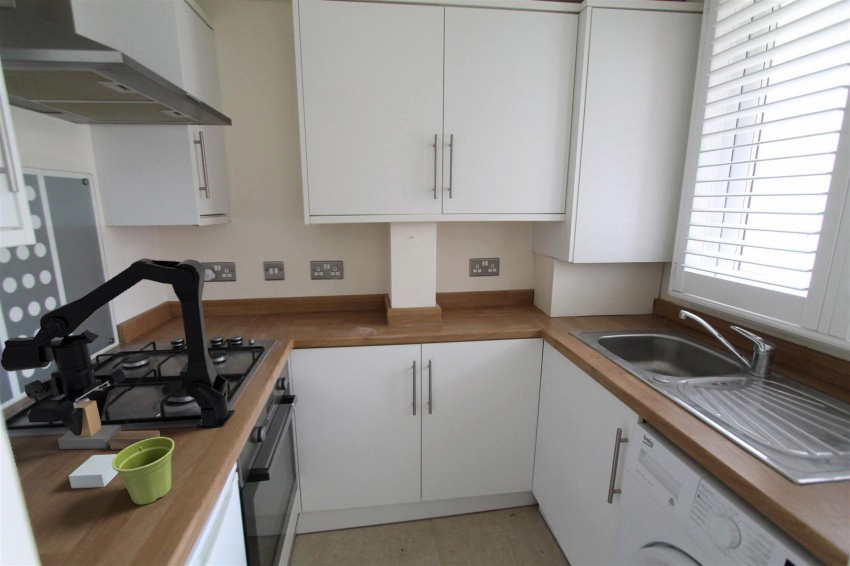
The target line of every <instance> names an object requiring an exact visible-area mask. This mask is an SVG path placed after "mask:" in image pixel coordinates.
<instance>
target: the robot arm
mask: <svg viewBox="0 0 850 566" xmlns="http://www.w3.org/2000/svg"><path fill="white" fill-rule="evenodd" d="M205 277H206V269H205V267H204V265H203V264H202V263H201V262H200V261H199V260H198V261H197V260H196V259H190V258H189V259H185V260H182V261H178V260H177V261H176V260H165V259H161V260H158V259H150V258H146V257H144V258H141V259H138V260H136V261H134V262H132V263H131V264H130V266H129V267H126V268H125V269H124V270H122V271H120V272H119V273H118V274H116V275H115V276H113V277H112V278H110V279H108V280H106V281H105V282H104V283H102V284H101V285H100V286H97V287H96V288H95V289H93V290H91V291H89V293H87V294H85V295H83V296H81V297H79V298H76V299H74V300H72V301H69V302H67V303H64V304H62V305H61V306H59V307H57V308H54V309H53V310H51V311H49V312H47V313H45V314H43V316H41V317H40V319H39V326H40V328H39V330H38V331H37V333H35V336H25V337H17V336H16V337H10V338H8V339H6V340H5V341H4V342H3V343H4V348H3V350H2V352H1V353H2V354H1V359H0V364H1V367H2V368H3V369H4V371H6V372H18V371H19V372H20V371H27V370H35V369H42V368H43V369H44V368H47V367H48V366H49V365H50V364H51V363H52V362H53V361H54V364H55V368H56V370H54V371H53V372H51V374H50V376H49V377H47V378H45V379H43V380H40V379H36V380H34V381H31V382H29V383H26V384H25V385H24V391H25V395H26V396H27V397H28V399H35V398H37V399H38V400H40V399H43V398H44V397H47V396H49V395H52V394H53V397H60V396H63V397H61V398H59V399H45V400H43V401H41V402H40V403H38V404H36V405H35V406H33V407H31V408H30V409H28V411H27V413H26V414H27V415H26V416H27V418H28V422H29V423H56V422H61V423H63V424H64V425H65V426H66V428H67V429H68V430H69V431H71V432H72V433H73V434H74V435H75V436H80V435H81V433H82V426H83V408H77V406H76V404H77V401H79V400H80V399H82V398H84V397H86V398H87V399H88V401H96V404H97V408H98V413H99V417H100V422H101V421H102V420H103V417H104V415H105V412H106V411H107V408H108V407H107V406H108V405H109V402H110V400H111V398H112V396H113V394H114V391H115V390H116V389H117V385H119V384H120V383H121V382H124V380H126V375H125V371H123V370H122V369H120V368H100V369H99V370H97V371H95V369H97V368H98V367H99V365H98V364H99V363H98V362H93V360H92V357H91V352H90V347H89V344H93V342H95V341H96V340H97V339H99V337H100V335H99V334H97V333H95V332H92V331H90V330H88V329H86V330H84V331H82V332H81V333H80V334H73V333H74V332H76V331H77V330H79V329H80V328H81V327H83V326H84V325H85V324H87V323H88V322H89V321H90V320H91V319H92V318H93V317H94V316H95V314H97V312H99V311H100V309H101V308H103V307H104V306H105V305H106V304H109V302H111V301H113V300H114V299H116V298H117V297H119V296H120V295H122V294H124V292H126V291H127V290H129V289H131V288H132V287H135V285H137V284H139V283H140V282H142V281H143V280H145V281H146V280H147V281H152V282H155V283H160V284H163V285H164V284H165V285H171V286H172V289H173V292H174V294H175V296H176V298H177V299H178V301H179V303H180V307H181V315H182V321H183V323H182V324H183V328H184V329H183V330H184V331H183V333H184V338H185V347H186V352H187V362H185V363H184V364H183V366H182V368H181V369H180V371H179V376H180V380H181V384H182V385H181V387H180V390H184V393H185V395H186V396H188V397H190V398H192V399H193V400H194V401H195V403H196V404H197V406H198V407H199V408H200V416H201V419H202V421H200V420H199V421H200V422H199V421H198V422H197V423H196V427H199V428H201V427H202V428H204V427H206V428H207V427H210V428H211V427H223V426H225V425H226V424H227V422H228V421H229V420H230V419H231V418H232V416H233V415H234V414H235V411H236V410H235V409H229V404H228V403H229V402H228V396H227V390H226V387H227V384H228V379H227V378H225V377H224V376H221V374H218V373H217V370H216V367H215V364H214V362H213V359H212V358H211V356H210V355H209V350H208V343H207V342H208V341H207V332H206V326H205V323H206V322H205V317H204V316H205V314H204V307H203V294H204V293H203V291H204V286H205ZM56 338H57V339H58V338H59V339H58V340H57V339H56ZM54 339H55V340H54ZM109 381H111V383H112V384H113V385H111V383H109Z"/></svg>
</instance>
